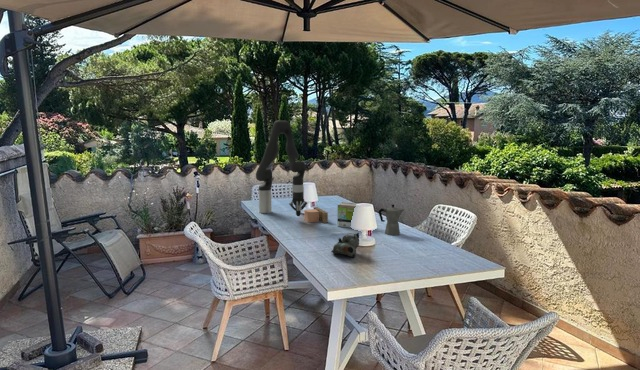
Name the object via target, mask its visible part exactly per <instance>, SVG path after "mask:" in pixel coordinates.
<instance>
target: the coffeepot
mask: <svg viewBox="0 0 640 370" xmlns="http://www.w3.org/2000/svg"><path fill="white" fill-rule="evenodd" d="M382 212H383V213H385V219H386V220H384V217H383V213H382ZM403 212H404V209H402V208H397V207H395V204H391V207H387V208H385V207H384V208H379V210H378V211H377V213H378V216H379V218H380V221H381V222H383V223H385V221H386V225H385V231H384V234H385V235H388V236H399V235H400V233H401V232H400V231H401V230H400V225H399V220H400V216H401V215H402V213H403Z"/></svg>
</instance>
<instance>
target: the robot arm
mask: <svg viewBox="0 0 640 370" xmlns="http://www.w3.org/2000/svg"><path fill="white" fill-rule="evenodd" d="M292 131H293V130H292V128H291V123H290V122H289V121H288V120H275V121H274V122H273V125H272V128H271V132H270V137H269V139H268V142H267V145H266V148H265V150H264V153H263V156H262V158H261V160H260V163H259V165H258V167H257V169H256V172H255V177H256V180H257V181H258V182H263V183H261V184H260V185H259V186H258V208H259V209H258V212H259V213H260V214H271V213H272V212H273V211H272V208H273V207H272V186H273V173H272V169H271V168H269V166H270V165H271V164H272V163H273V162H274V161H275V160H276V159H277V157H278V155H279V152H280V147H279V143H278V142H279V141H278V138H279V135H281V134H282V135H285V137H286V142H285V151H286V155H287V157H288V161H289V162H288V163H289V164H288V165H289V169H290V171H291V172H292V173H297V174H296V175H293V176H292V199H291V202H289V203H288V205H289V206H290V207H291V209H293V210H294V211H295V215H296V217H301V211H303V210H305V207H306V205H308V202H307V201H306V200H305V198H304V196H305V195H304V193H305V191H304V190H305V189H304V188H305V187H304V177H305V173H306V168H307V167H306V163H305V162H304V161H300V160H299V161H297V160H298V159H299V158H300V157H299V156H300V155H299V152H298V149H297V147H296V144H295V141H294V135H293V132H292Z"/></svg>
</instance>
